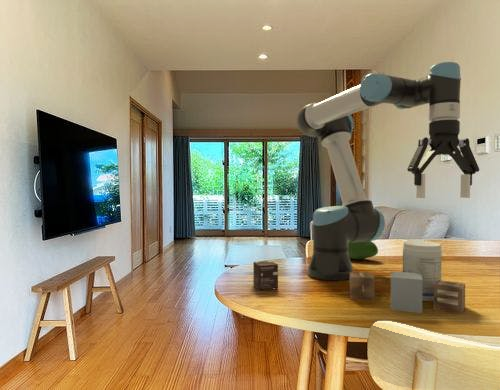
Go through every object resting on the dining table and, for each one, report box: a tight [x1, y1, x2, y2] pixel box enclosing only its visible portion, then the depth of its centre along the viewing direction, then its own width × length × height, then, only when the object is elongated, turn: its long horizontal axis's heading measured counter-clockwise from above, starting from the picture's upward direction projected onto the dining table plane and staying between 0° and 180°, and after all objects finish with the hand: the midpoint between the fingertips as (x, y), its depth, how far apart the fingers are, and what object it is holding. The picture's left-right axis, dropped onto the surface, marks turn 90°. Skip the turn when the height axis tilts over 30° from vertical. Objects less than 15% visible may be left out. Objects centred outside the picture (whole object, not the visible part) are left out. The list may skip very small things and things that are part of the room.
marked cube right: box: [433, 279, 466, 315], centre depth 90 cm, size 6×6×6 cm
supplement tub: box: [402, 240, 443, 302], centre depth 100 cm, size 10×10×15 cm
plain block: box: [390, 270, 423, 314], centre depth 91 cm, size 7×7×8 cm
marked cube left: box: [349, 271, 376, 302], centre depth 99 cm, size 6×8×6 cm
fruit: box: [348, 241, 379, 261], centre depth 153 cm, size 15×10×10 cm, turn 47°
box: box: [252, 260, 279, 291], centre depth 110 cm, size 6×6×7 cm
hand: (443, 197), depth 102 cm, fingers open, 13 cm apart
